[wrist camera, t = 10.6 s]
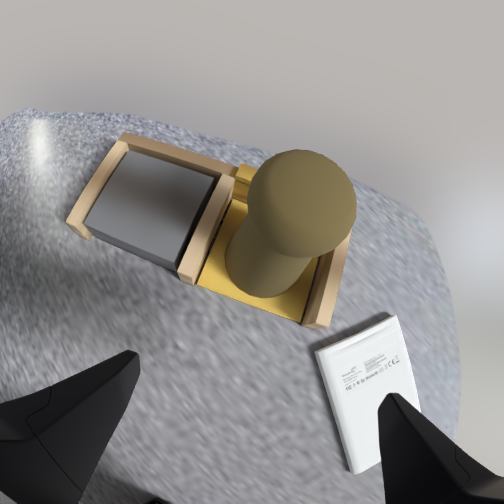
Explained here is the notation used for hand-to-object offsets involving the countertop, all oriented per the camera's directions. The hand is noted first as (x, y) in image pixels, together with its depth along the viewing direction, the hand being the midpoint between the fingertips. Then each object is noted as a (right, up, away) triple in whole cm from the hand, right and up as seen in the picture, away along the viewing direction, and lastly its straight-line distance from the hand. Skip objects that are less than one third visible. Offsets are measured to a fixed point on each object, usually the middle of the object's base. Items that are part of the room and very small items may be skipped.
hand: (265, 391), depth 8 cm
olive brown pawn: (0, +4, +13) cm, 14 cm away
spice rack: (-4, +6, +13) cm, 15 cm away
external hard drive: (+10, -8, +12) cm, 17 cm away
